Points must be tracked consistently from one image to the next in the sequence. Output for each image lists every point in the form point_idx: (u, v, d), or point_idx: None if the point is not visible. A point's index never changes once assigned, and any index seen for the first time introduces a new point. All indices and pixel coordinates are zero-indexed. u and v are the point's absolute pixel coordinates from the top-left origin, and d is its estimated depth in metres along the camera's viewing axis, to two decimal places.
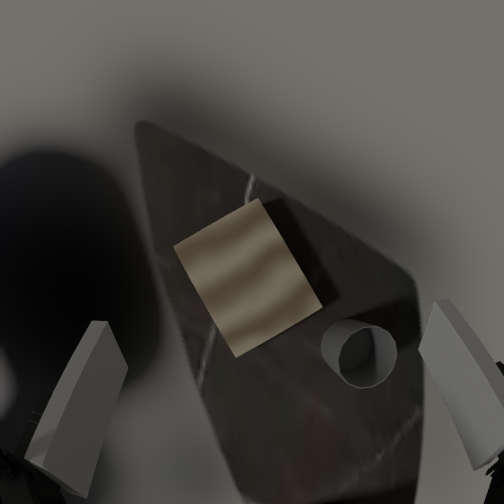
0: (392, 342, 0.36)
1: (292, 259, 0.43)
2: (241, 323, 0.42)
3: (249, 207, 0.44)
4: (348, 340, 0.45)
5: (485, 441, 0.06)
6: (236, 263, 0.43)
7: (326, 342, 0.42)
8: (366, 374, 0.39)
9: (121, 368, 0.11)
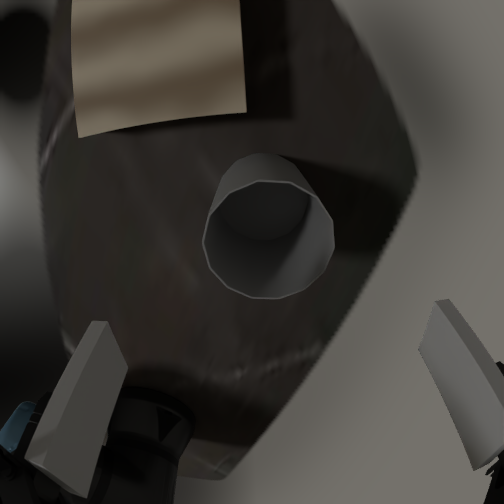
0: (329, 242, 0.20)
1: (235, 15, 0.17)
2: (105, 85, 0.19)
3: None
4: (269, 192, 0.27)
5: (485, 441, 0.06)
6: None
7: (227, 175, 0.24)
8: (263, 264, 0.25)
9: (121, 368, 0.11)
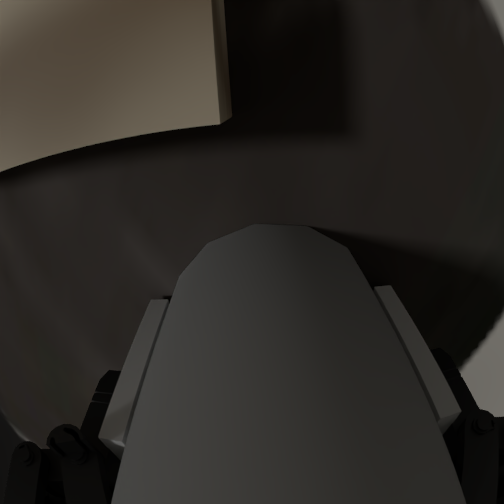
0: None
1: None
2: None
3: None
4: None
5: None
6: None
7: (179, 304, 0.09)
8: None
9: None
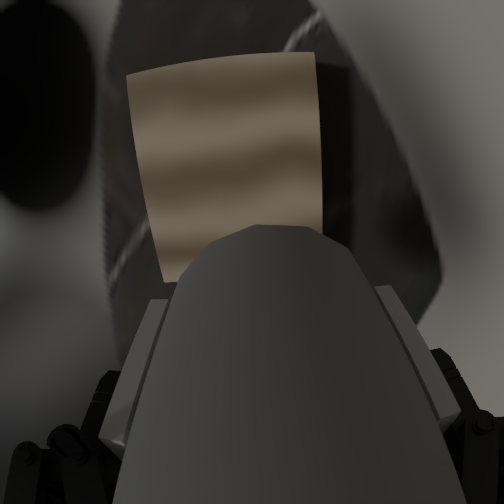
0: None
1: (318, 180, 0.23)
2: (190, 240, 0.25)
3: (290, 60, 0.19)
4: None
5: None
6: (222, 143, 0.21)
7: (180, 304, 0.09)
8: None
9: None
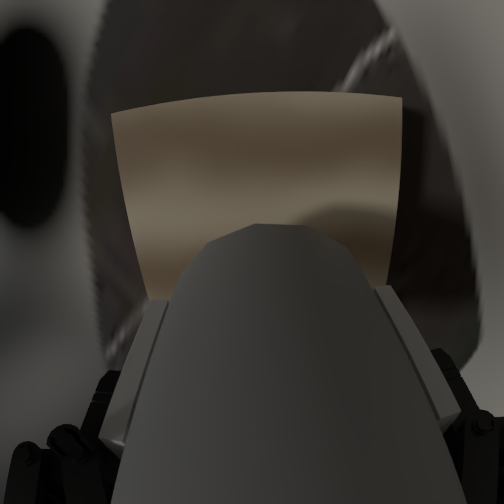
0: None
1: (382, 277, 0.17)
2: None
3: (369, 107, 0.12)
4: None
5: None
6: None
7: (179, 303, 0.09)
8: None
9: None
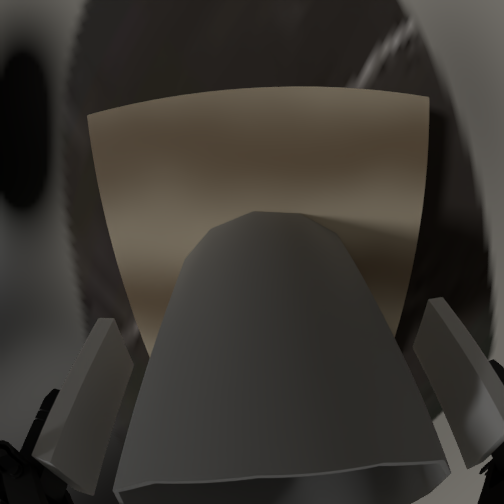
0: (418, 473, 0.06)
1: (399, 301, 0.14)
2: None
3: (392, 107, 0.10)
4: None
5: (478, 439, 0.06)
6: None
7: (186, 280, 0.10)
8: None
9: (127, 365, 0.12)
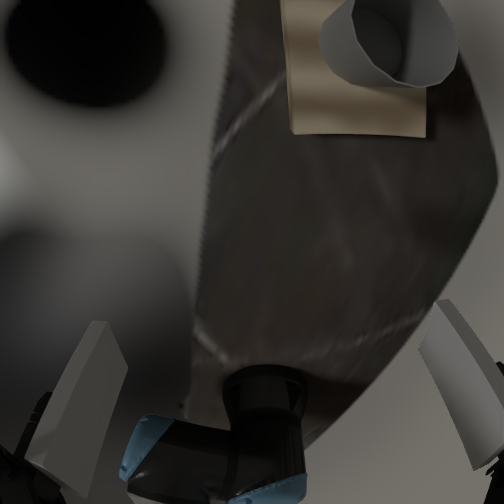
0: (451, 48, 0.14)
1: None
2: (326, 94, 0.25)
3: None
4: (368, 39, 0.21)
5: (485, 441, 0.06)
6: None
7: None
8: (381, 83, 0.19)
9: (121, 368, 0.11)
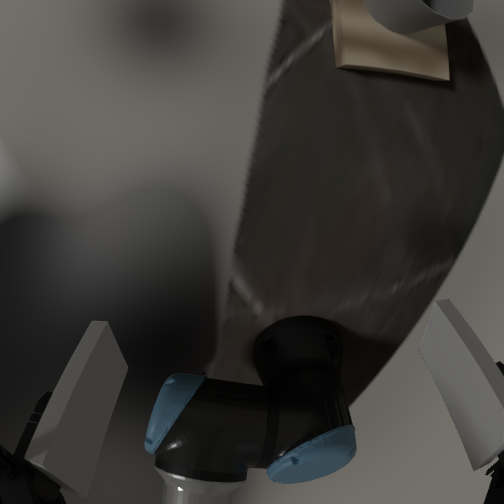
0: None
1: None
2: (370, 35, 0.25)
3: None
4: None
5: (485, 441, 0.06)
6: None
7: None
8: None
9: (121, 368, 0.11)
